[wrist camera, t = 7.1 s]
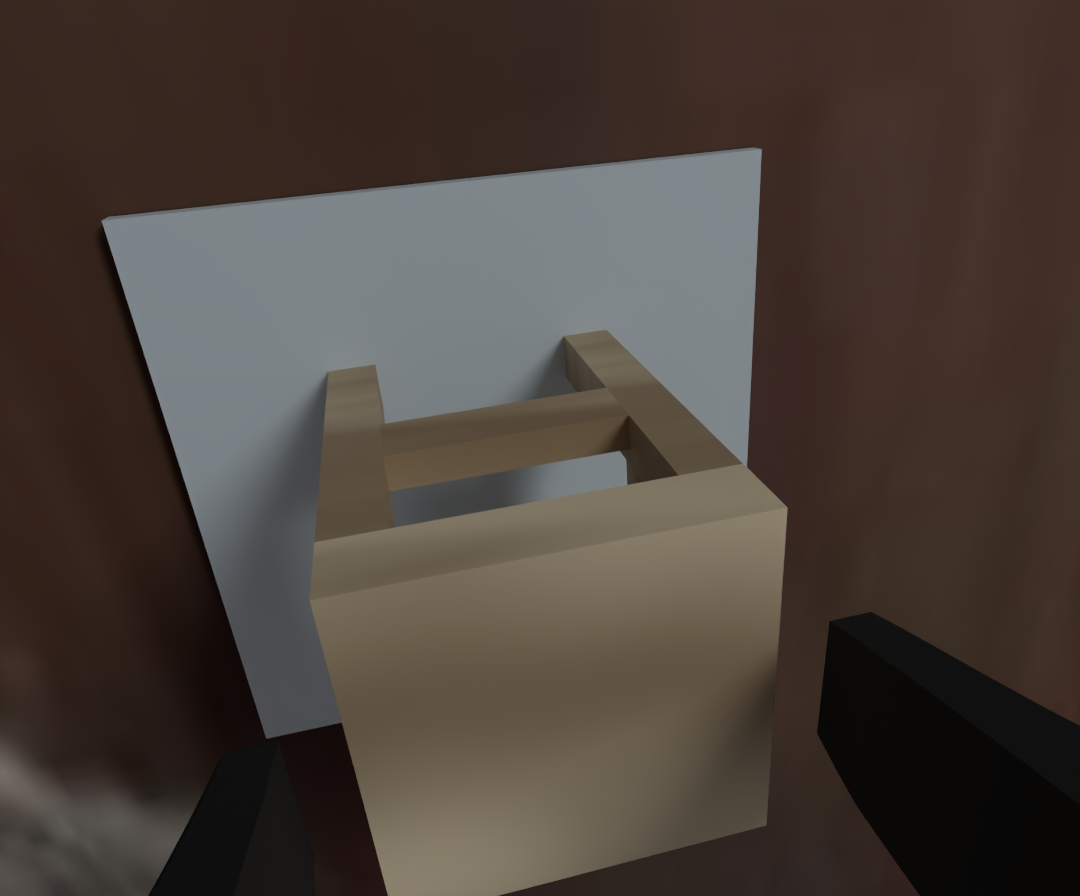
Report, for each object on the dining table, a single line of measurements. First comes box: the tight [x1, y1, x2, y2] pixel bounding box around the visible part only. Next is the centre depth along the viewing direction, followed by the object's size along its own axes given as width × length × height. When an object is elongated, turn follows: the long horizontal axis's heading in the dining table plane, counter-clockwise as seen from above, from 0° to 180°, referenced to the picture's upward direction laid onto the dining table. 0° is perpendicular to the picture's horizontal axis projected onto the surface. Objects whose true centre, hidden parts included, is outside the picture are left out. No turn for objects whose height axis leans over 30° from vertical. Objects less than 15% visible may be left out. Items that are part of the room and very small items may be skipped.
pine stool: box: [309, 330, 787, 896], centre depth 13 cm, size 6×6×8 cm
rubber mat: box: [102, 148, 762, 739], centre depth 17 cm, size 12×12×1 cm
